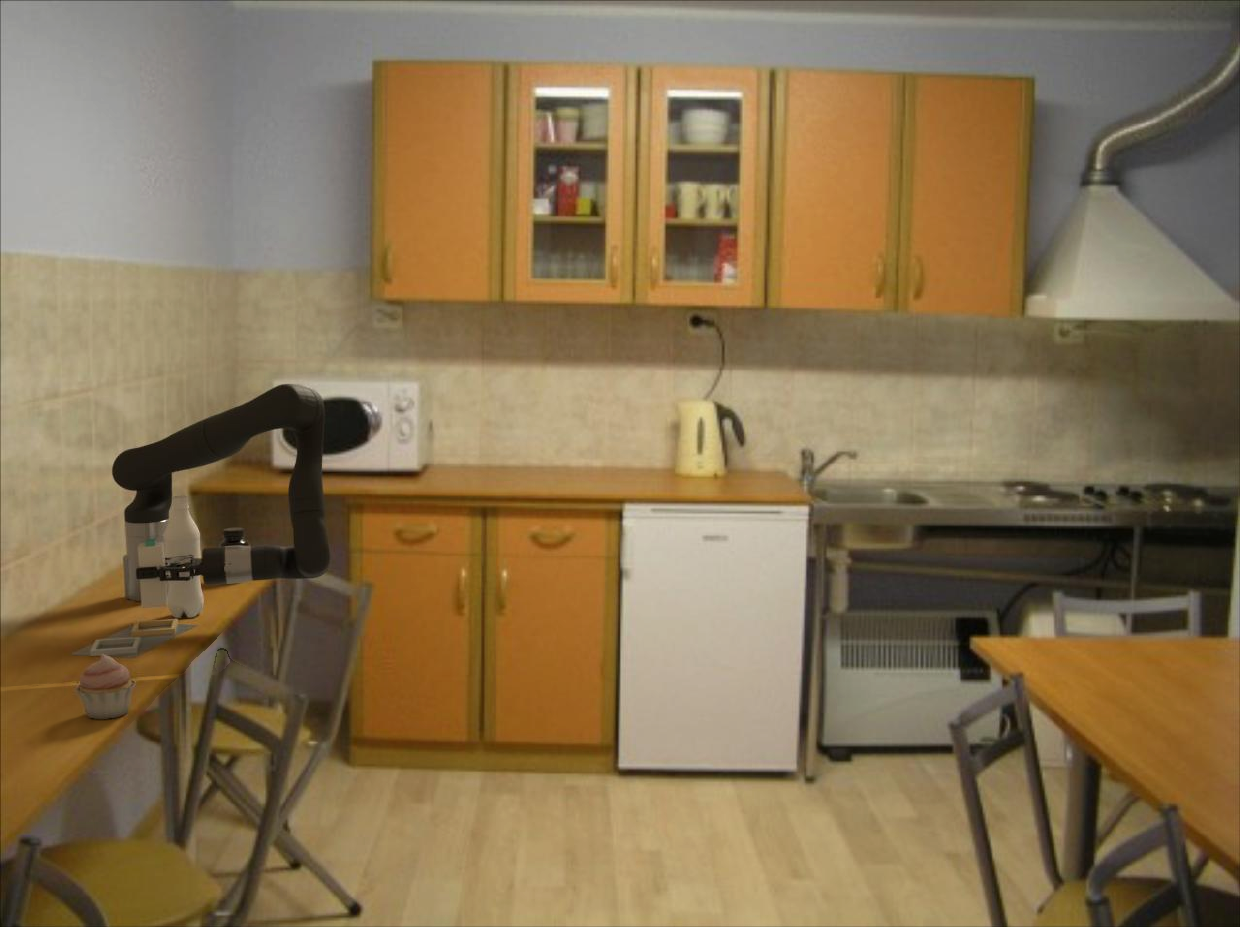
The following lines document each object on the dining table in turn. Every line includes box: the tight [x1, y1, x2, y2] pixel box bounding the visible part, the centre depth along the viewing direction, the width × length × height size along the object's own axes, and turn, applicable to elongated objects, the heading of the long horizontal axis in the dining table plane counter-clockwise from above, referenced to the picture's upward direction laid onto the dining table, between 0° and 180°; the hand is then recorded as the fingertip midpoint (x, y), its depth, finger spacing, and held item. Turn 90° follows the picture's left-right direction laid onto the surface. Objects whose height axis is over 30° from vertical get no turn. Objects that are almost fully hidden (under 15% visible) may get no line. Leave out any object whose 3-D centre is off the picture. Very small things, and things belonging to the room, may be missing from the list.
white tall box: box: [138, 538, 168, 609], centre depth 272 cm, size 4×4×13 cm
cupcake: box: [74, 654, 137, 720], centre depth 223 cm, size 9×9×10 cm
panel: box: [69, 618, 198, 659], centre depth 267 cm, size 13×25×2 cm, turn 169°
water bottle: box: [164, 495, 205, 619], centre depth 286 cm, size 7×7×25 cm
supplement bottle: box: [218, 527, 251, 547], centre depth 320 cm, size 7×7×12 cm
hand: (138, 570), depth 272 cm, fingers closed on white tall box, 4 cm apart
